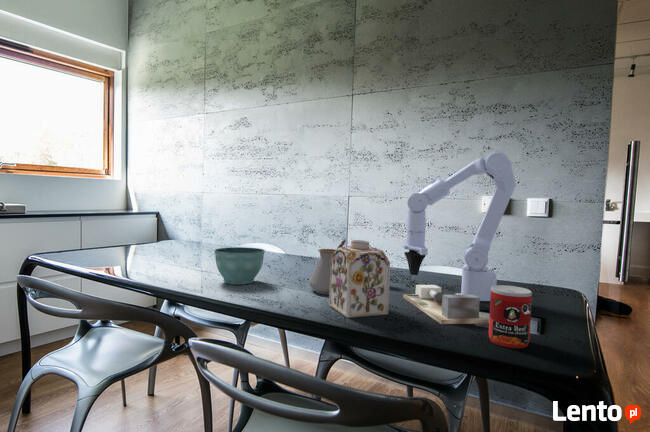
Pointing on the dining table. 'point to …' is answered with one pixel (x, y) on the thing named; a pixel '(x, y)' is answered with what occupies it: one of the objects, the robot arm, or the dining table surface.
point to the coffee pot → (323, 271)
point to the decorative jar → (359, 280)
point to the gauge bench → (438, 312)
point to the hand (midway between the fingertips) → (413, 274)
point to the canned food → (510, 316)
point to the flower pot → (239, 264)
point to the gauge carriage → (429, 292)
